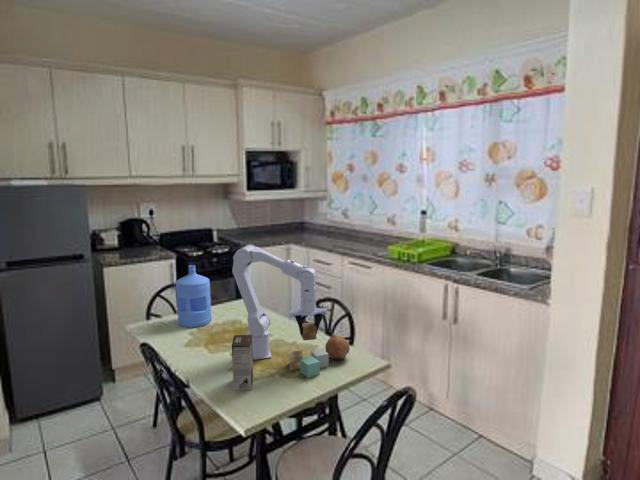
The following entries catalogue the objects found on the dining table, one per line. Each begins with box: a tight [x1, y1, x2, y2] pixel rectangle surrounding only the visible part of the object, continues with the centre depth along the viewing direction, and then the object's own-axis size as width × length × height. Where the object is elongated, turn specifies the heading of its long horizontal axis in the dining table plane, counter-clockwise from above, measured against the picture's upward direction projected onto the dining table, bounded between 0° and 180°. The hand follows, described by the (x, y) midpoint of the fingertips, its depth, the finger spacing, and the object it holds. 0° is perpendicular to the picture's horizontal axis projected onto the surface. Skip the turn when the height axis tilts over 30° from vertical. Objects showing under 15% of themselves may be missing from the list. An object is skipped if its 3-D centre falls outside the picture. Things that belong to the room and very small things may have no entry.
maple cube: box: [288, 350, 304, 370], centre depth 164 cm, size 5×5×5 cm
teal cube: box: [300, 356, 321, 379], centre depth 159 cm, size 5×5×5 cm
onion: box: [324, 334, 350, 361], centre depth 171 cm, size 10×9×10 cm
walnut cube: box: [300, 321, 317, 341], centre depth 169 cm, size 5×5×5 cm
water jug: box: [175, 264, 212, 328], centre depth 209 cm, size 16×16×28 cm
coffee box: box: [231, 334, 254, 391], centre depth 150 cm, size 9×6×16 cm
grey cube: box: [310, 348, 330, 369], centre depth 165 cm, size 5×5×5 cm
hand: (308, 333), depth 169 cm, fingers closed on walnut cube, 5 cm apart
